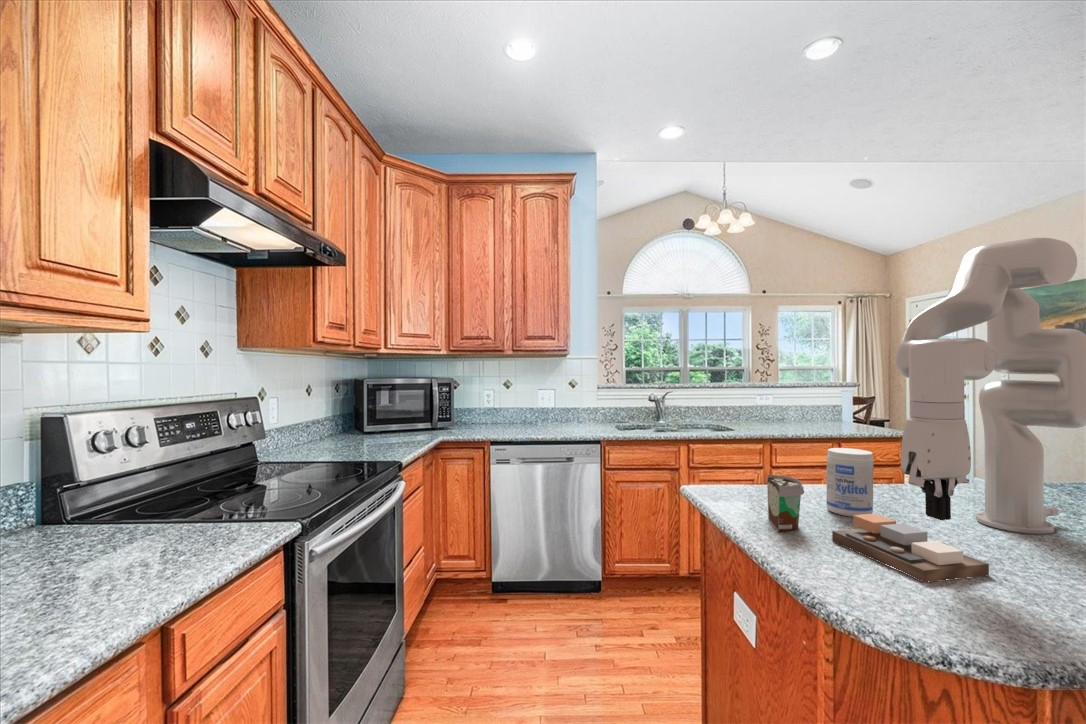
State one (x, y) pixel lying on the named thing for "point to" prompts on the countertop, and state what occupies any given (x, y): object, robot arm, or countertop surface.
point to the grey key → (903, 533)
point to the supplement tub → (849, 481)
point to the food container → (784, 502)
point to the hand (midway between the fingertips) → (938, 517)
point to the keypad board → (907, 557)
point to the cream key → (937, 552)
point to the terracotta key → (871, 522)
